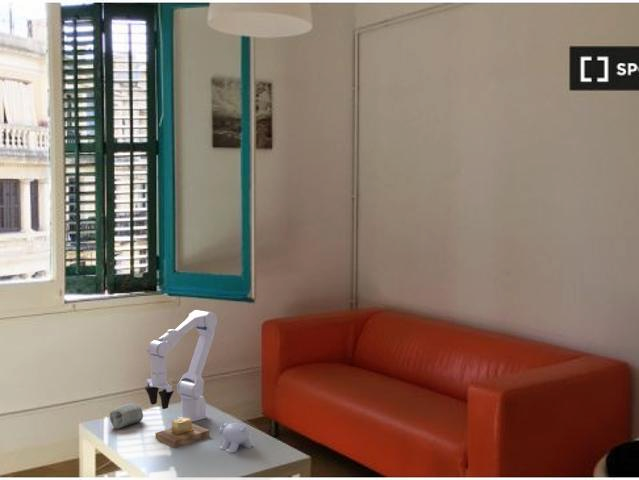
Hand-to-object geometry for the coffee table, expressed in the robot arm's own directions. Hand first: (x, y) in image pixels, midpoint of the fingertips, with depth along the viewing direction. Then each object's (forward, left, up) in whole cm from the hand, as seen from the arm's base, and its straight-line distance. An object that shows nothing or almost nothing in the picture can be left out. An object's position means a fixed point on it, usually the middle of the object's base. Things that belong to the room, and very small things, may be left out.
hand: (159, 406), depth 294 cm
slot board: (-1, +14, -9) cm, 16 cm away
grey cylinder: (+6, -14, -10) cm, 18 cm away
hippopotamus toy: (-10, +34, -10) cm, 36 cm away
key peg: (-1, +14, -10) cm, 17 cm away
